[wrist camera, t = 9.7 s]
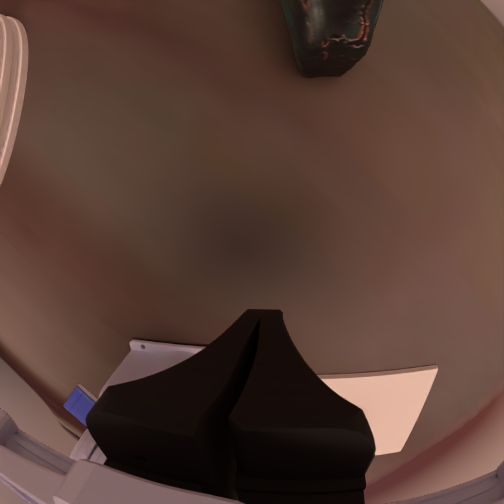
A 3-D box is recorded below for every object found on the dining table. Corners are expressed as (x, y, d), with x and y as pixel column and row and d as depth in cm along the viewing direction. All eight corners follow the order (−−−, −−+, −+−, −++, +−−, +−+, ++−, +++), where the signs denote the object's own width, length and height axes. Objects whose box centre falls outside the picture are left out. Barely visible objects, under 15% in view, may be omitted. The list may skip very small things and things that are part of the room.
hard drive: (152, 447, 30) (75, 387, 28) (128, 458, 32) (62, 406, 31) (156, 439, 31) (81, 380, 30) (132, 451, 34) (67, 400, 32)
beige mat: (254, 455, 29) (253, 458, 28) (247, 373, 25) (246, 378, 24) (399, 447, 26) (400, 451, 26) (436, 364, 22) (438, 368, 22)
